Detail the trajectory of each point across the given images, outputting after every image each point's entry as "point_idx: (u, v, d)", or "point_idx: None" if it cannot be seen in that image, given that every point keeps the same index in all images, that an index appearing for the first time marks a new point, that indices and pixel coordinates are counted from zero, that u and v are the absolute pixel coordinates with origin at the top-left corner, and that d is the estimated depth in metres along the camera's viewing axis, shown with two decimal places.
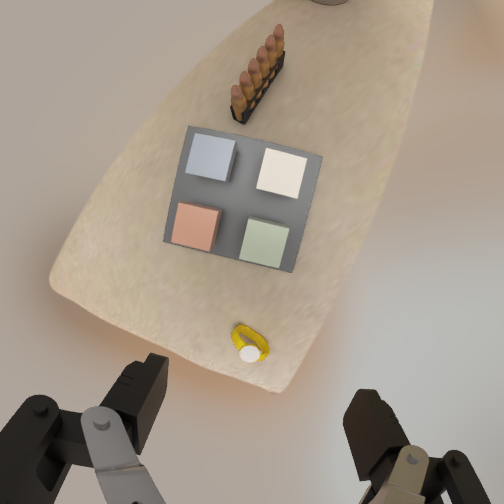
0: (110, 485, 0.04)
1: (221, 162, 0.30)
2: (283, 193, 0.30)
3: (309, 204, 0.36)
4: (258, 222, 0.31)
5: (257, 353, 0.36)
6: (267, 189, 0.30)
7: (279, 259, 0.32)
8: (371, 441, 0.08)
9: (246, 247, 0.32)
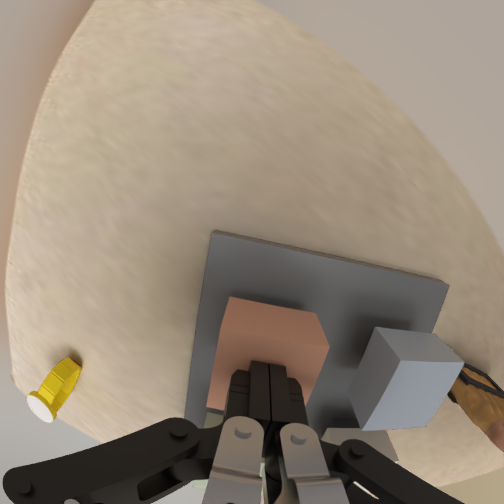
0: (218, 482, 0.05)
1: (398, 418, 0.11)
2: None
3: None
4: None
5: (45, 419, 0.14)
6: None
7: None
8: None
9: None
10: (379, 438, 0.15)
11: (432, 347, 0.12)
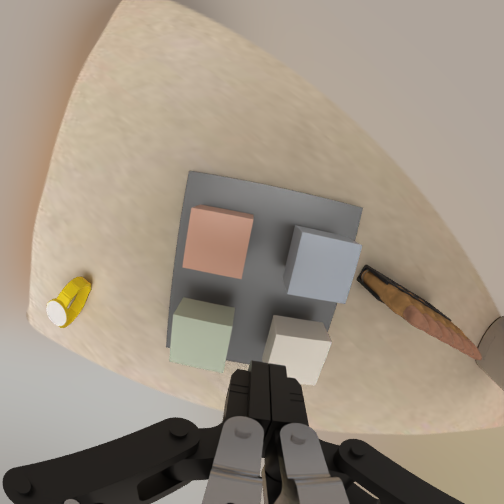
0: (218, 482, 0.05)
1: (315, 287, 0.20)
2: None
3: None
4: (228, 338, 0.21)
5: (59, 323, 0.23)
6: (274, 347, 0.21)
7: (181, 362, 0.22)
8: None
9: (190, 324, 0.21)
10: (316, 327, 0.24)
11: (337, 236, 0.21)
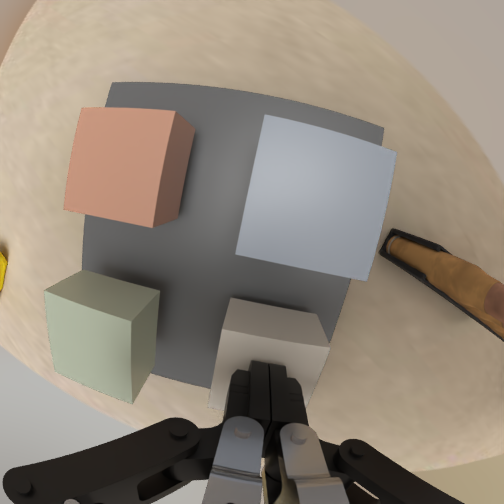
0: (218, 482, 0.05)
1: (299, 240, 0.09)
2: (215, 385, 0.12)
3: (209, 386, 0.17)
4: (127, 344, 0.10)
5: None
6: (221, 354, 0.11)
7: (69, 376, 0.11)
8: None
9: (68, 310, 0.10)
10: (304, 320, 0.13)
11: None
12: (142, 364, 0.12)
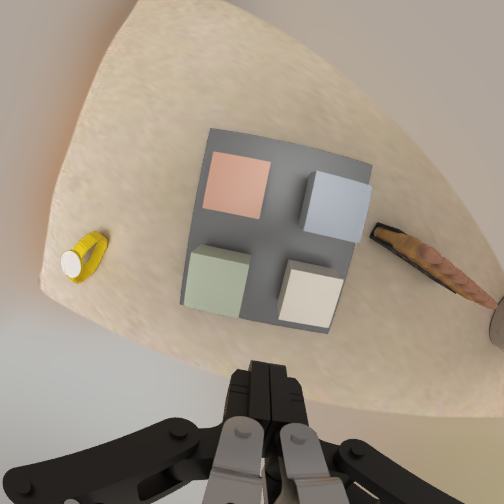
0: (218, 482, 0.05)
1: (330, 224, 0.21)
2: (285, 303, 0.24)
3: (268, 322, 0.29)
4: (244, 278, 0.22)
5: (73, 274, 0.24)
6: (290, 283, 0.23)
7: (195, 306, 0.23)
8: None
9: (207, 262, 0.22)
10: (328, 270, 0.25)
11: None
12: None
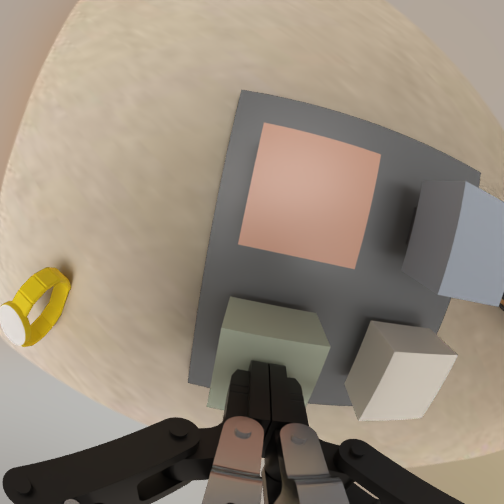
0: (218, 482, 0.05)
1: (473, 281, 0.09)
2: (373, 400, 0.12)
3: (324, 402, 0.17)
4: (319, 367, 0.11)
5: (17, 341, 0.12)
6: (387, 372, 0.12)
7: None
8: None
9: (254, 345, 0.11)
10: (428, 335, 0.14)
11: None
12: None
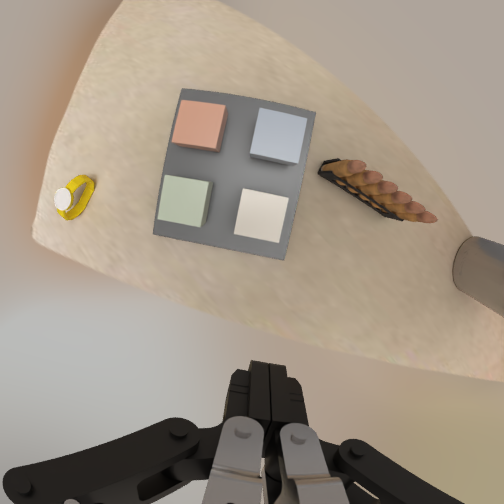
0: (218, 482, 0.05)
1: (272, 148, 0.25)
2: (238, 218, 0.28)
3: (229, 248, 0.33)
4: (205, 193, 0.28)
5: (63, 207, 0.27)
6: (242, 200, 0.28)
7: (166, 219, 0.28)
8: None
9: (177, 181, 0.27)
10: (278, 195, 0.30)
11: None
12: (205, 211, 0.29)
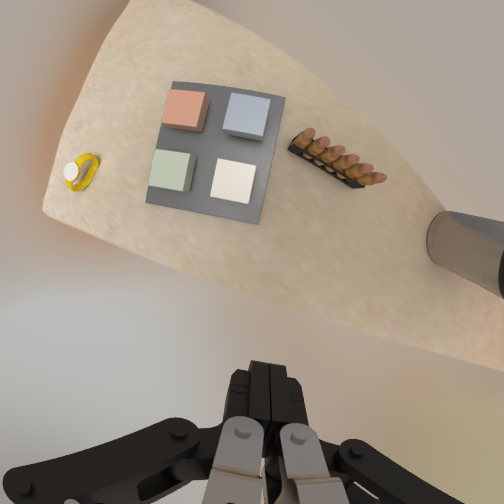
0: (218, 482, 0.05)
1: (240, 124, 0.30)
2: (214, 183, 0.33)
3: (209, 213, 0.38)
4: (187, 162, 0.32)
5: (71, 178, 0.33)
6: (217, 168, 0.32)
7: (155, 185, 0.33)
8: None
9: (164, 154, 0.32)
10: None
11: None
12: (187, 179, 0.34)
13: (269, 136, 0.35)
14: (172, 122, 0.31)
